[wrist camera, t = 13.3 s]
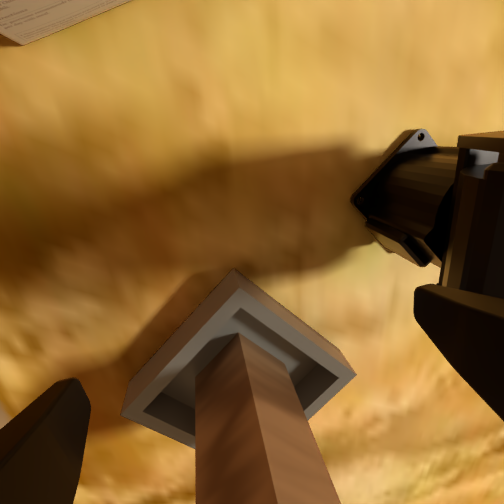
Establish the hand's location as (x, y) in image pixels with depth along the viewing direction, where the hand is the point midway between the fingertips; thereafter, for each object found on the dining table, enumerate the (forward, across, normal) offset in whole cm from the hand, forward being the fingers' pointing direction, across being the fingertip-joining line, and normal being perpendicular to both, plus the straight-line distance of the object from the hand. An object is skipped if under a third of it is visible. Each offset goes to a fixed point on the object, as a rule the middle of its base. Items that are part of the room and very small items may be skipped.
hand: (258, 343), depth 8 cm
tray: (+13, +1, +12) cm, 18 cm away
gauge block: (+12, +1, +12) cm, 17 cm away
